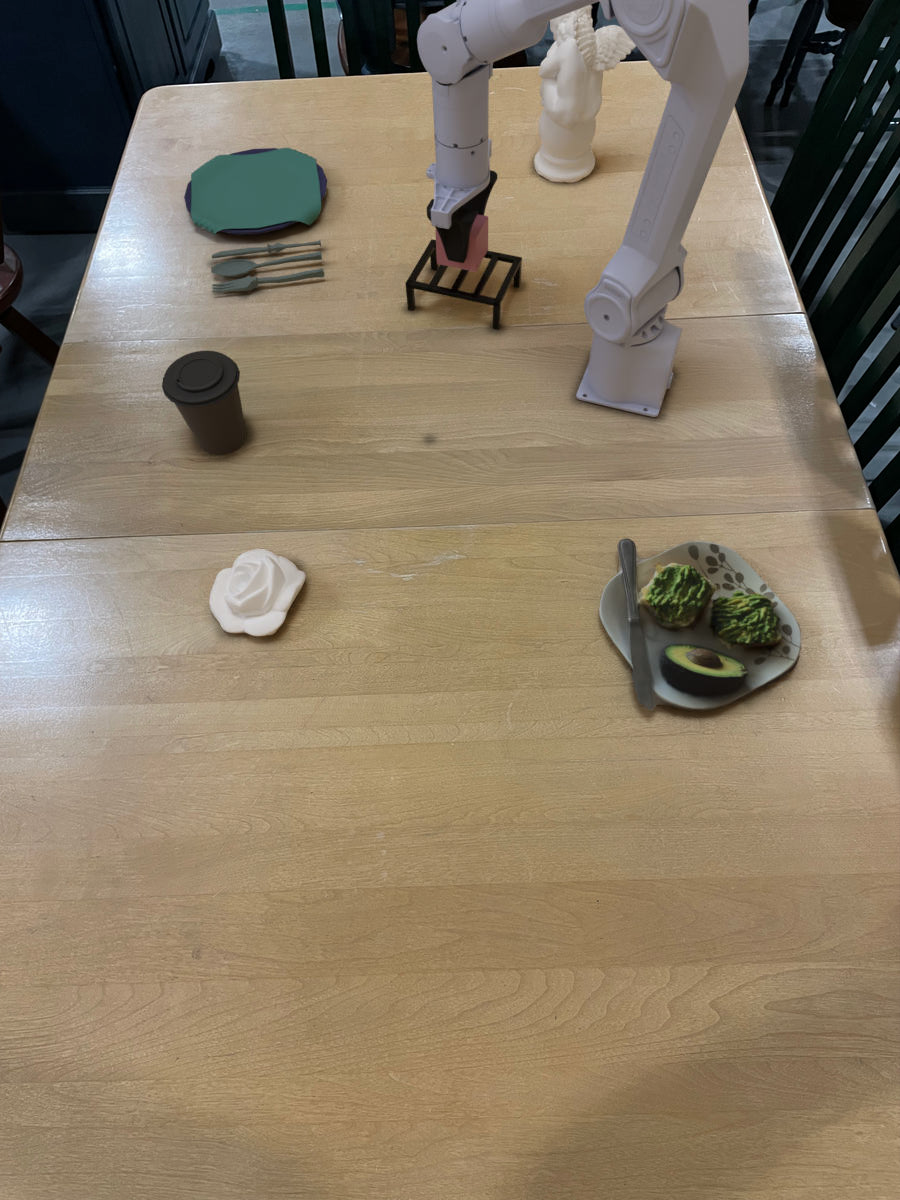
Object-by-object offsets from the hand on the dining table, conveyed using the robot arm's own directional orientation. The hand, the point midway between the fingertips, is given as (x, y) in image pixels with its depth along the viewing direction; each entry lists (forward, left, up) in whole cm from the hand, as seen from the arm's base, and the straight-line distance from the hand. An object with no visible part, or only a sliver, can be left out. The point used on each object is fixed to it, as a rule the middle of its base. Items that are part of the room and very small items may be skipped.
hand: (463, 247), depth 101 cm
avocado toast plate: (-37, +39, -7) cm, 54 cm away
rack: (0, 0, -7) cm, 7 cm away
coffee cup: (+18, +31, -7) cm, 37 cm away
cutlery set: (+32, -6, -7) cm, 33 cm away
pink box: (0, 0, -1) cm, 1 cm away
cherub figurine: (-6, -31, -7) cm, 32 cm away
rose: (+4, +49, -7) cm, 50 cm away
